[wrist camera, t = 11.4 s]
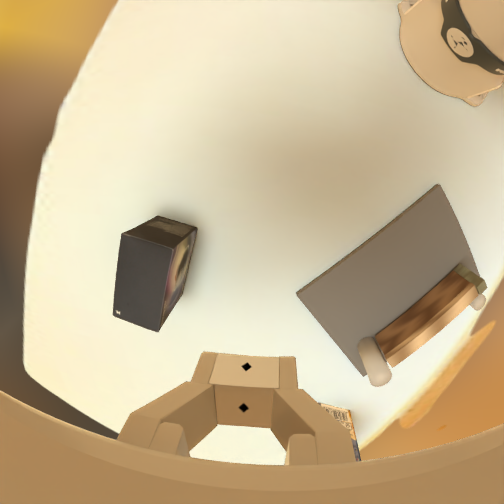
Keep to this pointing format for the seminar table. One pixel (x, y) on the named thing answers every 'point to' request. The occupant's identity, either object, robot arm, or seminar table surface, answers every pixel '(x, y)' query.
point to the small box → (152, 271)
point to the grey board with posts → (388, 280)
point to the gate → (430, 314)
